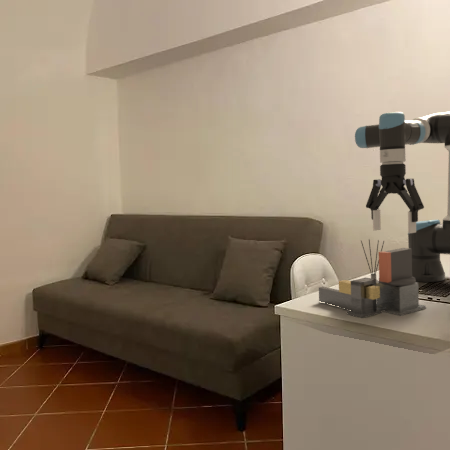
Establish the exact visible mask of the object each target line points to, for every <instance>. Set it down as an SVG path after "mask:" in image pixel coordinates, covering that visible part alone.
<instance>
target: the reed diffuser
mask: <svg viewBox="0 0 450 450" xmlns="http://www.w3.org/2000/svg"><path fill="white" fill-rule="evenodd" d="M370 241H371V240H370V239H368V245H369V246H368V247H369V254H370V256H369V257H370V263H369V260H368V257H367V254H366V251H365V248H364V244H363V241H362V240H360V243H361V247H362V249H363V253H364V255H365V259H366V262H367V265H368V269H369V272H370V278H371V279H376V283H378V282H379V279H377V270H378V268H379V259H378V261H377V258H378V252H379V242H380V241H379V239H378V240H377V246H376V254H375V262H374V267H373V260H372V259H373V258H372V251H371V242H370ZM384 243H385V240H383V242H382V245H381V250H380V252H382V251H383V247H384ZM370 264H371V267H370ZM373 268H374V270H373Z"/></svg>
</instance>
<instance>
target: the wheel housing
mask: <svg viewBox="0 0 450 450" xmlns="http://www.w3.org/2000/svg"><path fill="white" fill-rule="evenodd" d="M376 286H379V287H380V298H378V299H376V304H377V309H379V310H382V312H384V313H388V314H392V315H397V316H404V315H405V316H406V315H408V314H411V313H415V312H417V311H418V312H419V311H421V310H424V309H427V306H426V305H425V304H424V305H423V304H420V303H419V302H420V301H419V282H418V281H416V283H415V284H413V285H408V286H389V285H383V284H380V283H379V282H378V283H376Z"/></svg>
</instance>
